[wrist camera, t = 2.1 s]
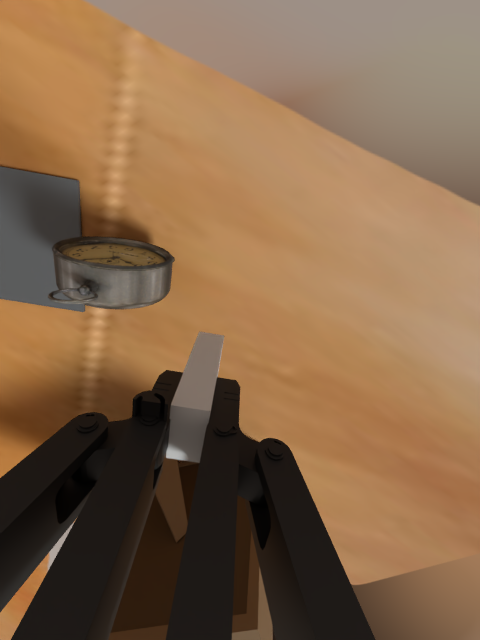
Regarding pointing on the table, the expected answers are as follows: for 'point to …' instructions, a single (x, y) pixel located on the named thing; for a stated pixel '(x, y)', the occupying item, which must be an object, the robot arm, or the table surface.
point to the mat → (35, 234)
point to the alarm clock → (111, 272)
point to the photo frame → (164, 561)
